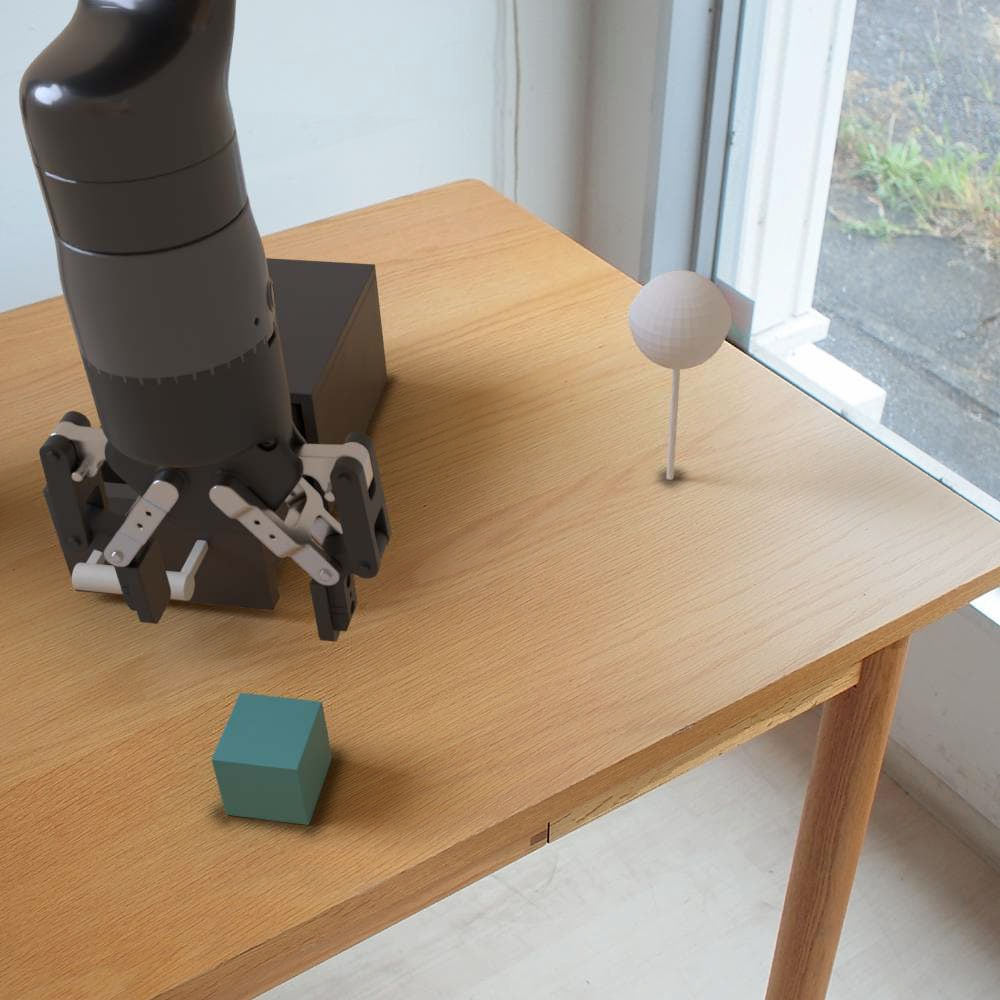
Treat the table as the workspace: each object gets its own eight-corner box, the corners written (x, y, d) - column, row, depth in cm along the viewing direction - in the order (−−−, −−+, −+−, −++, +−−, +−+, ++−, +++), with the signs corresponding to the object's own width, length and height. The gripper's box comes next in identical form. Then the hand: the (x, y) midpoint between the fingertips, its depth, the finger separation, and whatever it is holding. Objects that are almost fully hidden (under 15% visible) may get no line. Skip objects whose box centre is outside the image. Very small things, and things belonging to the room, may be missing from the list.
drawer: (251, 664, 74) (228, 561, 69) (44, 642, 76) (7, 540, 71) (339, 459, 88) (325, 361, 83) (163, 445, 90) (139, 348, 85)
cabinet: (330, 516, 85) (311, 394, 79) (131, 499, 87) (97, 378, 81) (387, 379, 97) (375, 263, 90) (211, 367, 99) (187, 253, 93)
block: (225, 815, 67) (210, 759, 64) (252, 748, 70) (239, 692, 68) (309, 825, 66) (297, 769, 64) (332, 757, 70) (322, 701, 67)
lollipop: (613, 497, 85) (618, 295, 76) (633, 444, 90) (640, 246, 80) (708, 513, 84) (726, 309, 74) (724, 458, 88) (743, 258, 78)
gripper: (-44, 359, 49) (66, 664, 59) (328, 383, 46) (375, 696, 57) (44, 259, 54) (130, 553, 65) (379, 276, 52) (414, 578, 62)
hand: (245, 619), depth 61 cm, fingers open, 8 cm apart
